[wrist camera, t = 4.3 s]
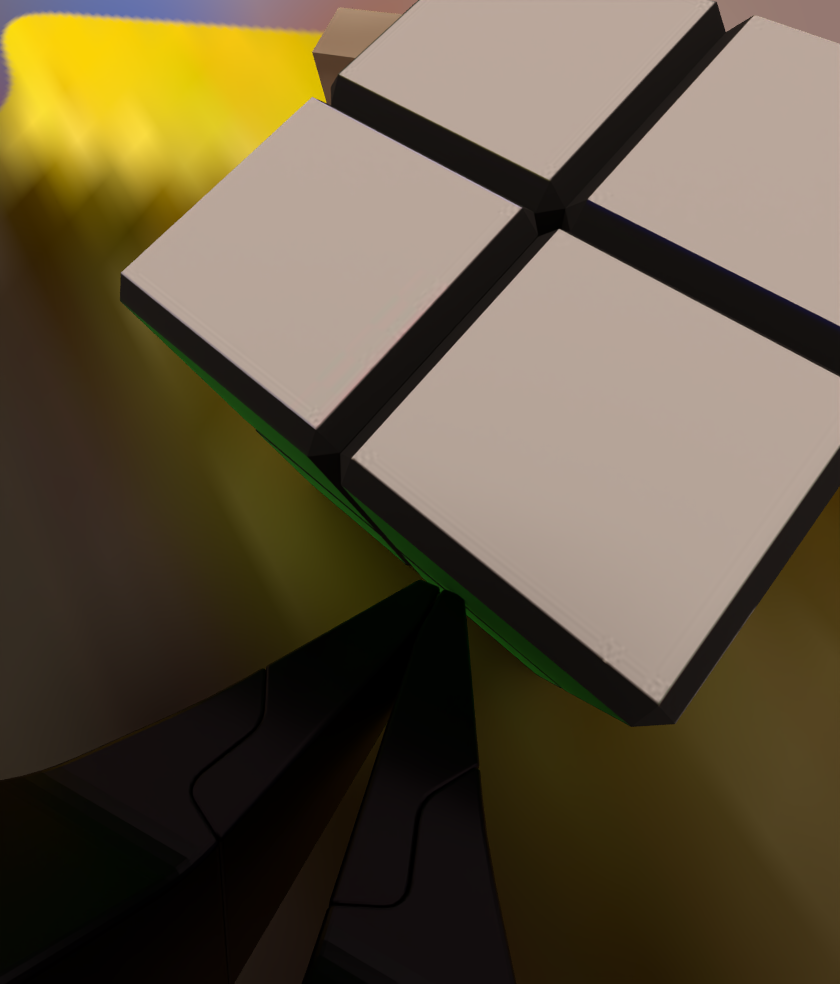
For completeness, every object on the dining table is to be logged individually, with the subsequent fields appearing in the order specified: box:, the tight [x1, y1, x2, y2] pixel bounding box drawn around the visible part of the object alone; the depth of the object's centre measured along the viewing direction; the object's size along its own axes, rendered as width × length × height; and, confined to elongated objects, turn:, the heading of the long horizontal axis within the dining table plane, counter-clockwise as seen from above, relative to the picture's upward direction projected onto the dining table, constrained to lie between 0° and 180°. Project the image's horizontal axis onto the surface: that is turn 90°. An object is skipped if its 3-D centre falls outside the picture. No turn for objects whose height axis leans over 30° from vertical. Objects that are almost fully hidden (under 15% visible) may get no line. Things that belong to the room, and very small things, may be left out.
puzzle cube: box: [120, 0, 840, 727], centre depth 12 cm, size 10×10×10 cm
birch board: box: [312, 7, 403, 105], centre depth 16 cm, size 2×20×6 cm, turn 69°
